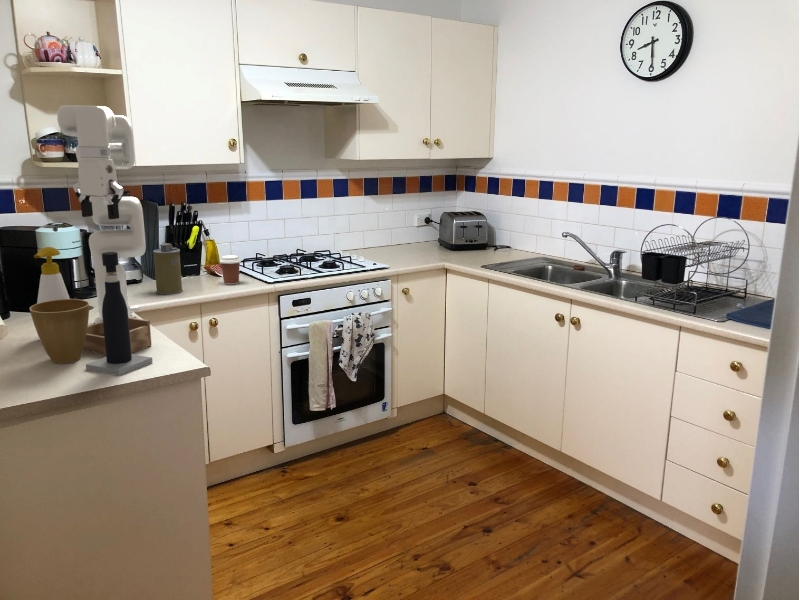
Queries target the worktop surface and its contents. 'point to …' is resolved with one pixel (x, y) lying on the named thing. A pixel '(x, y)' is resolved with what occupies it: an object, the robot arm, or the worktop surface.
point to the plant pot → (62, 327)
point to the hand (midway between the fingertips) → (100, 217)
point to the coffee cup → (230, 269)
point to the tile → (119, 365)
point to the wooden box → (138, 336)
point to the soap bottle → (50, 278)
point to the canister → (167, 270)
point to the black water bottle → (115, 315)
